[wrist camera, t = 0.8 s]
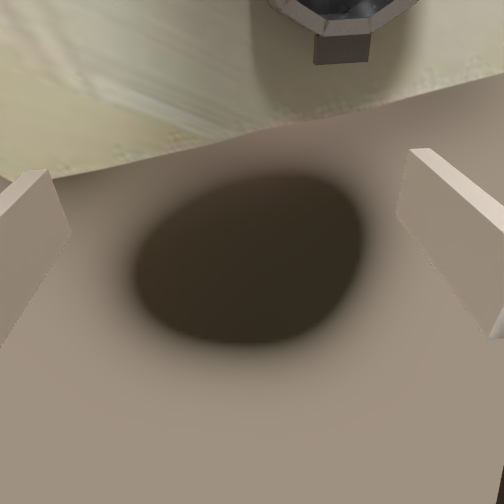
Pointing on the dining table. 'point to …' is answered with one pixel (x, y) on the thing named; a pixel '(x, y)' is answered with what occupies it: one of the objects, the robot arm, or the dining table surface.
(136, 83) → the dining table surface
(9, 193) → the robot arm
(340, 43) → the pot
